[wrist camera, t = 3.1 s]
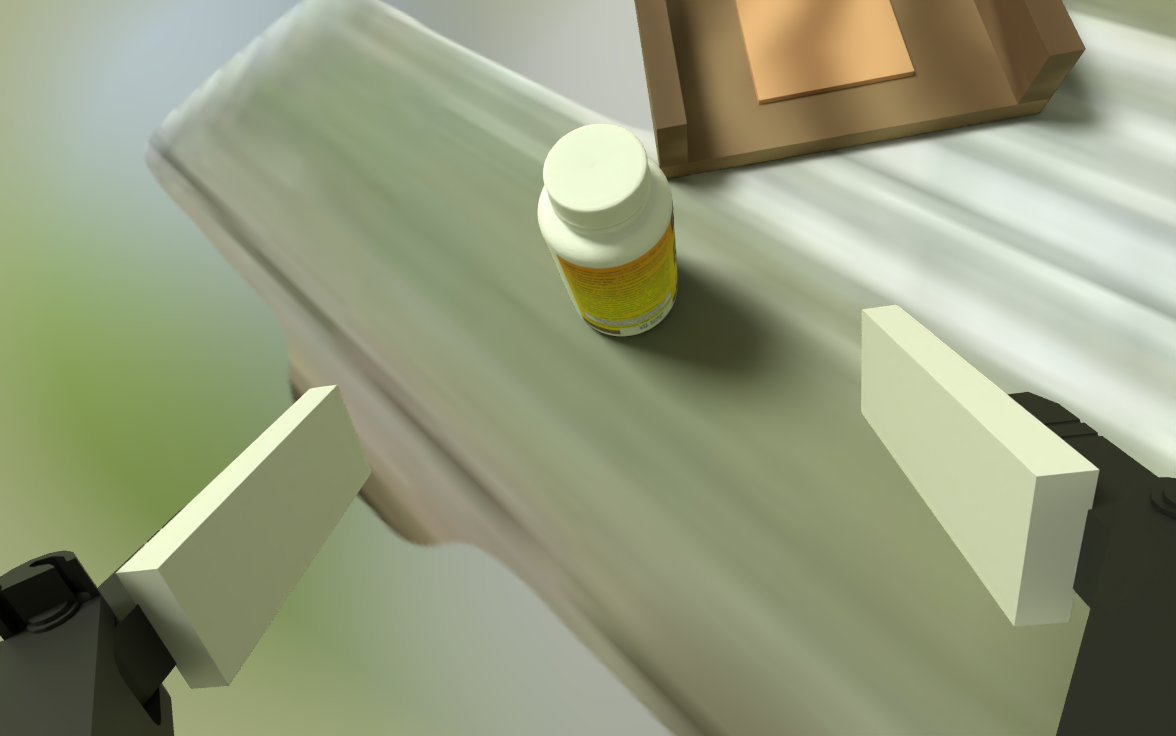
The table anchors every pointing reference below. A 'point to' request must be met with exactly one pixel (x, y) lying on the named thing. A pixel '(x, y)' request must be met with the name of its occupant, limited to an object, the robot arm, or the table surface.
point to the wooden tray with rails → (840, 72)
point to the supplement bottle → (610, 229)
